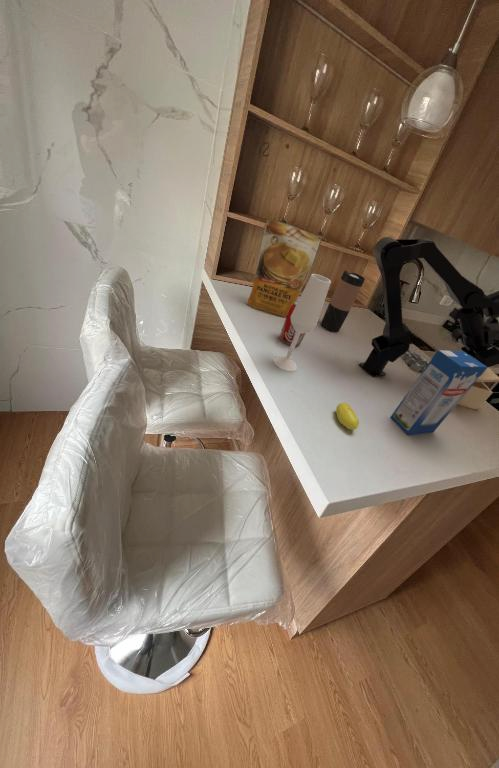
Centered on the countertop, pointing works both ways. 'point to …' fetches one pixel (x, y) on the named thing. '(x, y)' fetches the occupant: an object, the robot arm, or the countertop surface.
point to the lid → (488, 376)
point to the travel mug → (342, 301)
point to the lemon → (347, 416)
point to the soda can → (290, 328)
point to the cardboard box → (475, 396)
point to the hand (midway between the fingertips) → (480, 368)
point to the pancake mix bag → (282, 267)
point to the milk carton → (437, 391)
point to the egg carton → (415, 360)
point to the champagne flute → (305, 315)
